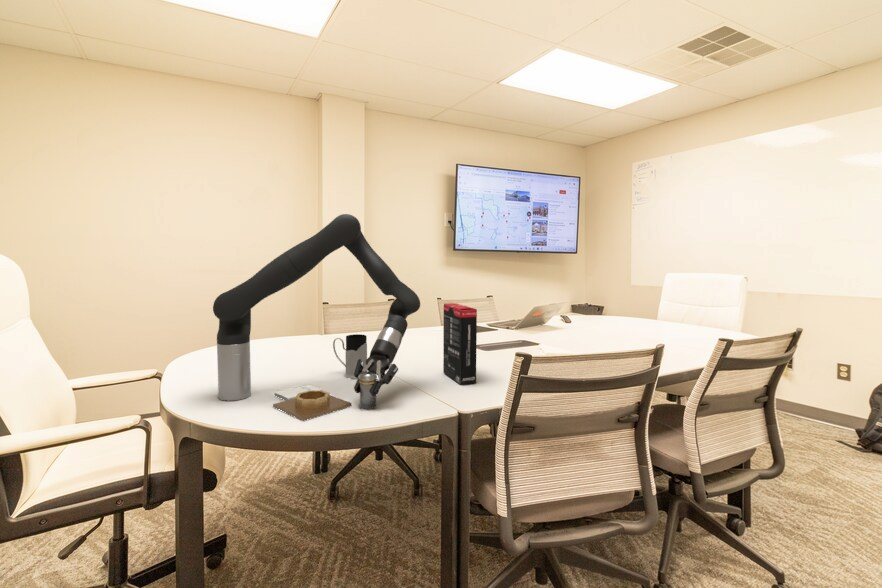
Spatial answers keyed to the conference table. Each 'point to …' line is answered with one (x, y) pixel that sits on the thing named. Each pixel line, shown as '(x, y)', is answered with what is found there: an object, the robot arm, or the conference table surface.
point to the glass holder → (353, 352)
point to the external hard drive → (294, 392)
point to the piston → (367, 390)
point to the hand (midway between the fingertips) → (364, 393)
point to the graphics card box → (460, 343)
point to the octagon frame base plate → (312, 404)
